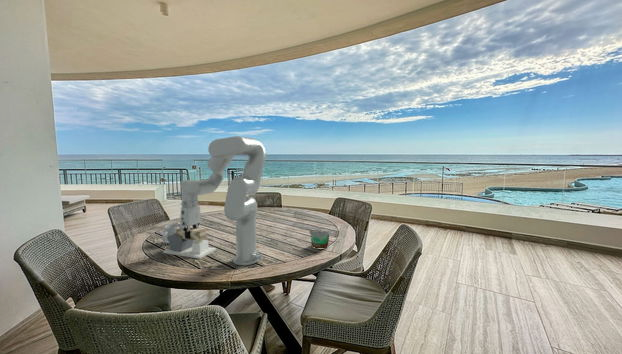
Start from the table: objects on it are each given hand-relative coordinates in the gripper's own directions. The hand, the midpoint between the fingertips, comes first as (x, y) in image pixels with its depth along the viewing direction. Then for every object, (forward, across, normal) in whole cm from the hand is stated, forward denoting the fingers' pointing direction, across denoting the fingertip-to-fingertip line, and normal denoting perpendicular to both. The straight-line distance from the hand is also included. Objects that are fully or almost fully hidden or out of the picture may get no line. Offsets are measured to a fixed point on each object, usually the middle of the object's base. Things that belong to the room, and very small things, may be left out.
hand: (191, 236), depth 125 cm
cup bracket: (+8, 0, 0) cm, 8 cm away
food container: (+9, +26, -64) cm, 70 cm away
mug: (+8, +6, +21) cm, 23 cm away
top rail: (+1, 0, 0) cm, 1 cm away
